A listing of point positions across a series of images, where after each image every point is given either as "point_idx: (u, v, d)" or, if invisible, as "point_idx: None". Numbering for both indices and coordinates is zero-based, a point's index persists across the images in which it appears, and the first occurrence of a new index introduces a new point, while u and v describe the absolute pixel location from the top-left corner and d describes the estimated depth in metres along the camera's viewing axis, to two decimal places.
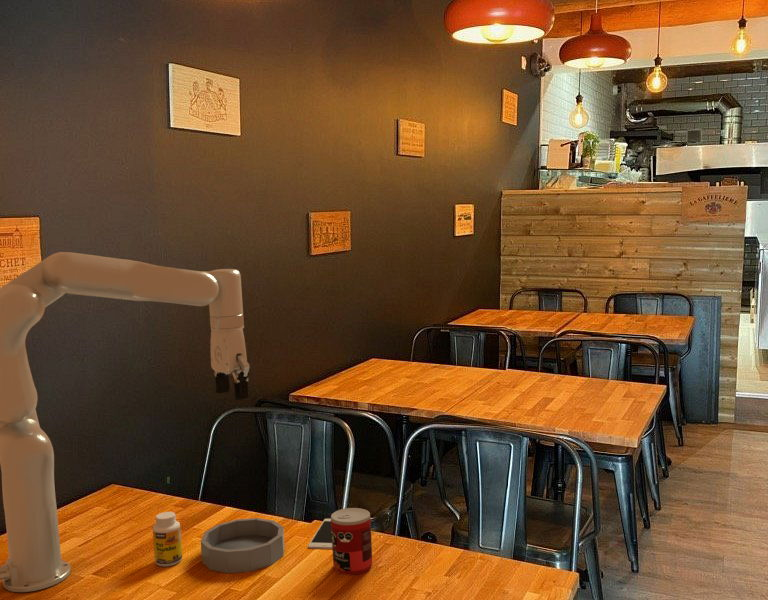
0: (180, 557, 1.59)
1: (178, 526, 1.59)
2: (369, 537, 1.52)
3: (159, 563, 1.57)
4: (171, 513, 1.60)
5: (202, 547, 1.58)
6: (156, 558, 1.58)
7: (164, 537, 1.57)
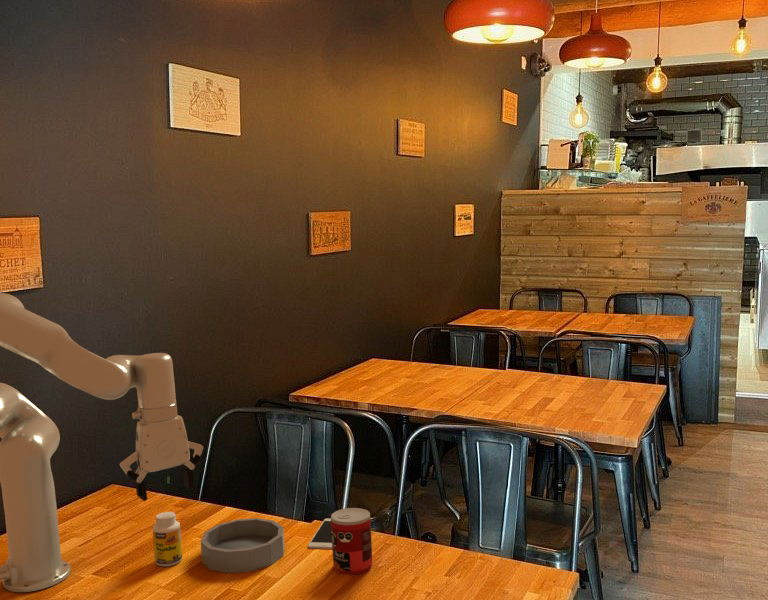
0: (180, 557, 1.59)
1: (178, 526, 1.59)
2: (369, 537, 1.52)
3: (159, 563, 1.57)
4: (171, 513, 1.60)
5: (202, 547, 1.58)
6: (156, 558, 1.58)
7: (164, 537, 1.57)
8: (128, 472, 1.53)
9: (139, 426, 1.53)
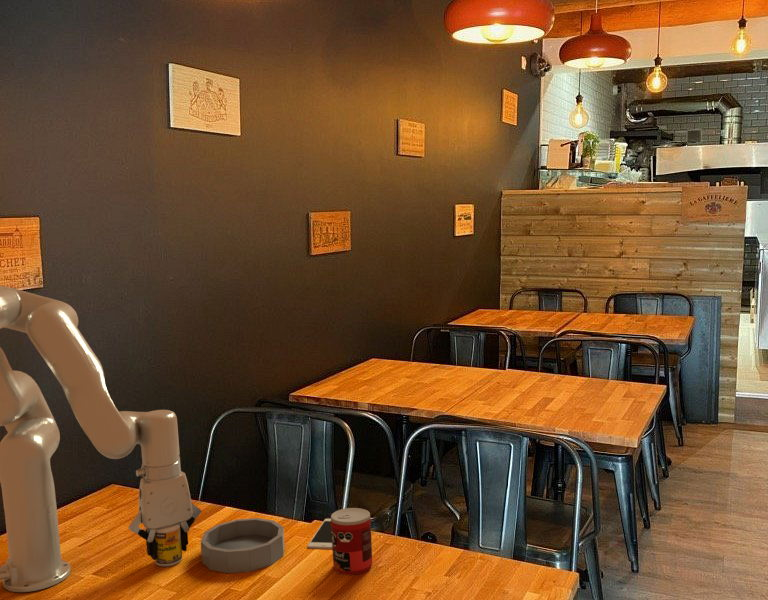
0: (180, 557, 1.59)
1: (178, 526, 1.59)
2: (369, 537, 1.52)
3: (159, 563, 1.57)
4: None
5: (202, 547, 1.58)
6: None
7: (164, 537, 1.57)
8: (139, 532, 1.55)
9: (143, 484, 1.55)
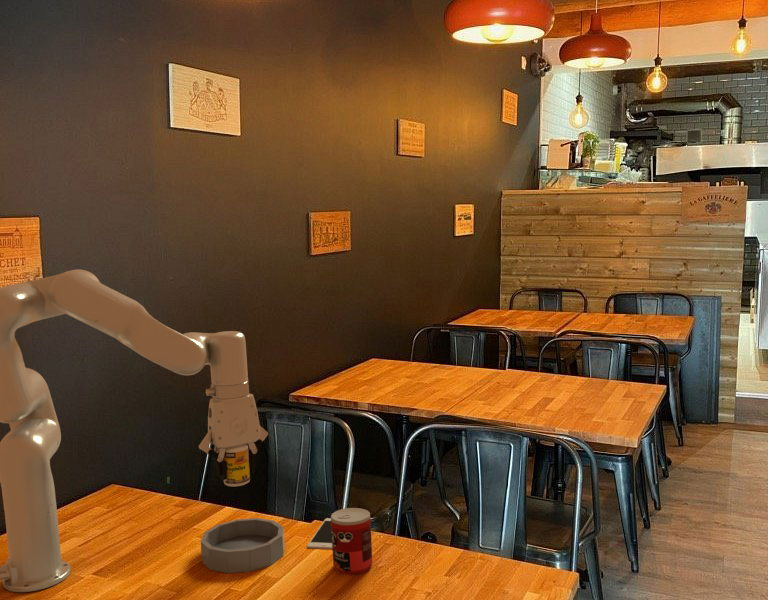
0: (248, 478, 1.60)
1: (247, 447, 1.59)
2: (369, 537, 1.52)
3: (228, 483, 1.58)
4: None
5: (202, 547, 1.58)
6: None
7: (233, 457, 1.57)
8: (209, 452, 1.56)
9: (213, 403, 1.55)
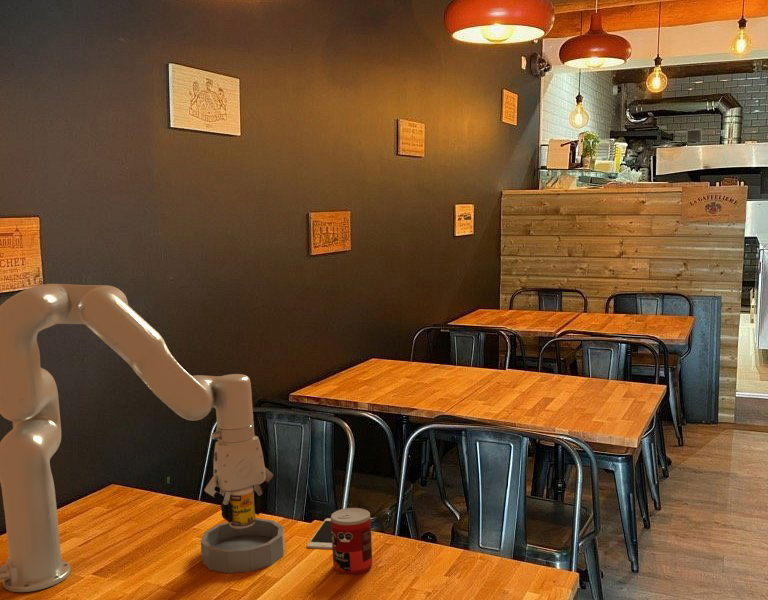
0: (254, 520, 1.61)
1: (252, 489, 1.60)
2: (369, 537, 1.52)
3: (234, 525, 1.59)
4: None
5: (202, 547, 1.58)
6: None
7: (239, 499, 1.58)
8: (215, 495, 1.57)
9: (218, 446, 1.56)
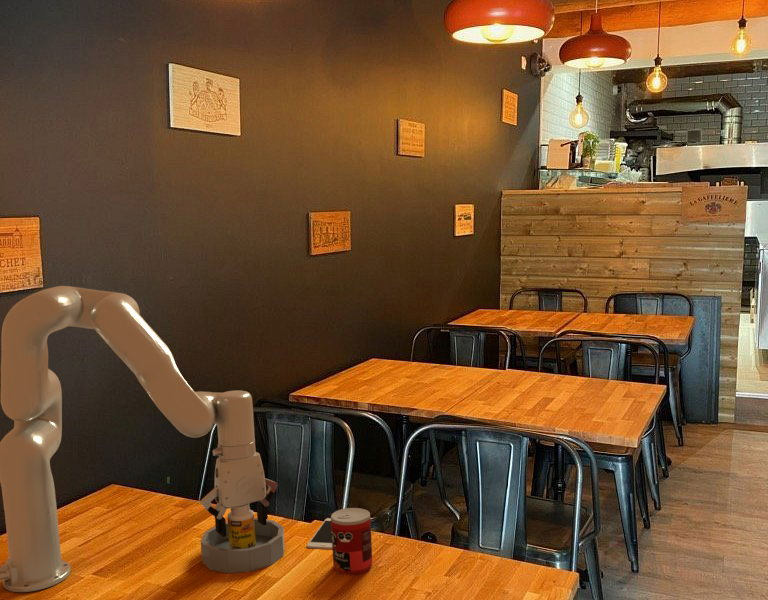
0: (254, 545, 1.61)
1: (252, 514, 1.61)
2: (369, 537, 1.52)
3: None
4: None
5: (202, 547, 1.58)
6: (231, 546, 1.60)
7: (239, 525, 1.58)
8: (209, 509, 1.56)
9: (220, 463, 1.56)
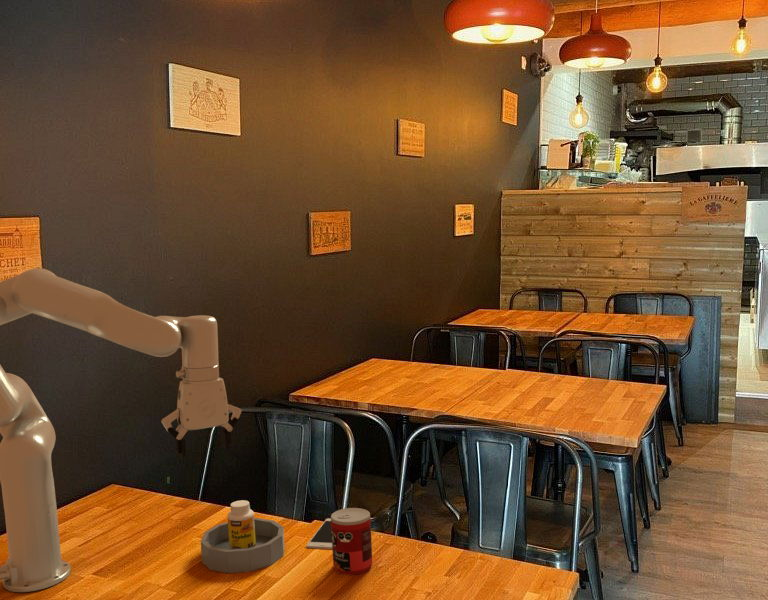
0: (254, 545, 1.61)
1: (252, 514, 1.61)
2: (369, 537, 1.52)
3: None
4: (245, 502, 1.61)
5: (202, 547, 1.58)
6: (231, 546, 1.60)
7: (239, 525, 1.59)
8: (169, 429, 1.58)
9: (182, 384, 1.58)
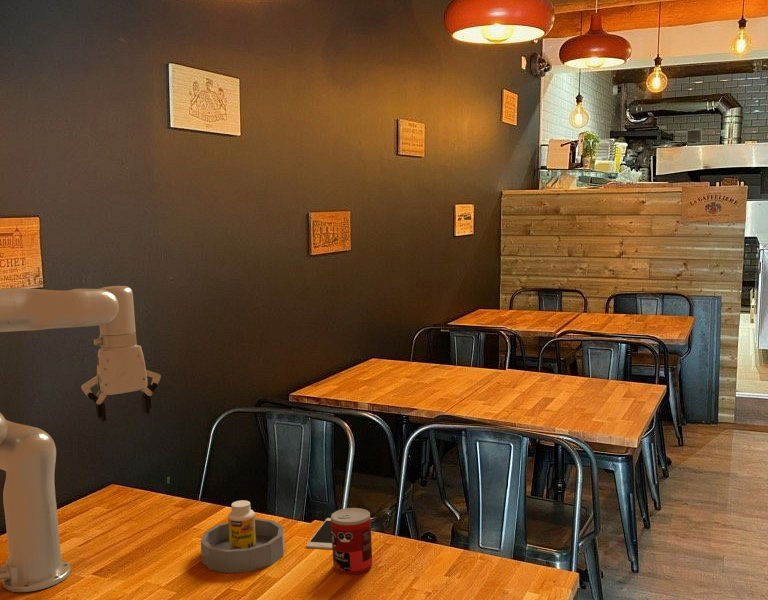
0: (254, 545, 1.61)
1: (253, 514, 1.61)
2: (369, 537, 1.52)
3: None
4: (246, 502, 1.61)
5: (202, 547, 1.58)
6: (231, 546, 1.60)
7: (240, 525, 1.58)
8: (89, 394, 1.65)
9: (100, 352, 1.66)
